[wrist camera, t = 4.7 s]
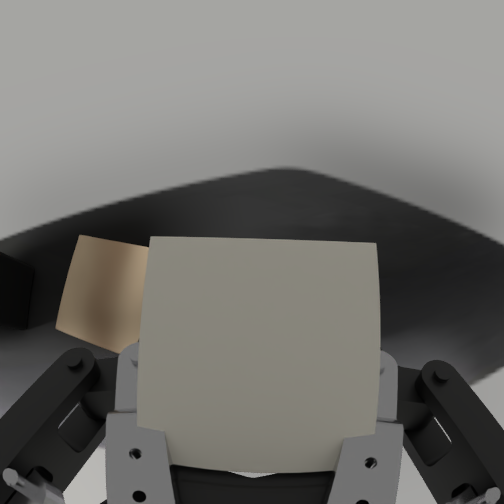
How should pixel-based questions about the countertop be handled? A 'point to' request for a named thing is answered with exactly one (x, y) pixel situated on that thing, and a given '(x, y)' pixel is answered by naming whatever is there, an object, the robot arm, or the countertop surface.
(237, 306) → the cream block
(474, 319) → the countertop surface
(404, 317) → the countertop surface
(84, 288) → the oak plinth
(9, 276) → the battery
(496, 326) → the countertop surface
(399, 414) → the robot arm
